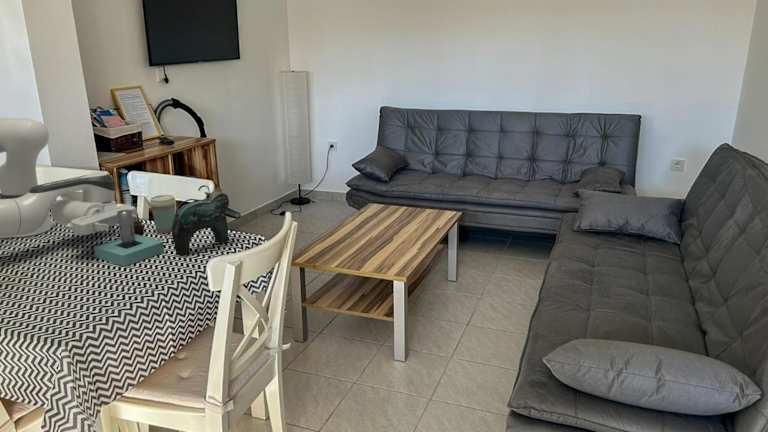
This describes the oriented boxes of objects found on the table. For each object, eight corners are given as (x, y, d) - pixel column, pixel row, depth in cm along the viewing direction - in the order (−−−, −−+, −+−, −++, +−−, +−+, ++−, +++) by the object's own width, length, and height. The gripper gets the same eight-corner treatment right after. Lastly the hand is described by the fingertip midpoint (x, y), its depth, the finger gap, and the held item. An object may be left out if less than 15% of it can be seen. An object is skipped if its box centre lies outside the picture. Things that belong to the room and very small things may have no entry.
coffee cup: (175, 225, 208) (171, 193, 204) (182, 232, 201) (178, 198, 197) (150, 229, 203) (146, 196, 199) (156, 236, 196) (152, 202, 193)
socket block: (95, 257, 178) (94, 246, 177) (136, 244, 189) (134, 233, 188) (124, 266, 171) (122, 255, 170) (164, 252, 182) (163, 241, 181)
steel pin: (120, 256, 178) (114, 213, 174) (128, 252, 182) (122, 209, 178) (132, 257, 178) (126, 213, 173) (140, 253, 181) (134, 210, 177)
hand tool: (144, 235, 198) (143, 222, 196) (132, 237, 196) (130, 224, 195) (142, 220, 214) (141, 208, 213) (130, 221, 213) (129, 209, 211)
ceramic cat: (224, 237, 196) (219, 179, 190) (236, 241, 192) (231, 182, 186) (171, 253, 181) (164, 191, 175) (182, 258, 177) (176, 195, 171)
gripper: (59, 216, 174) (91, 222, 168) (116, 199, 191) (147, 204, 185) (63, 236, 176) (94, 243, 170) (119, 217, 193) (149, 223, 187)
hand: (122, 223), depth 178 cm, fingers open, 8 cm apart
